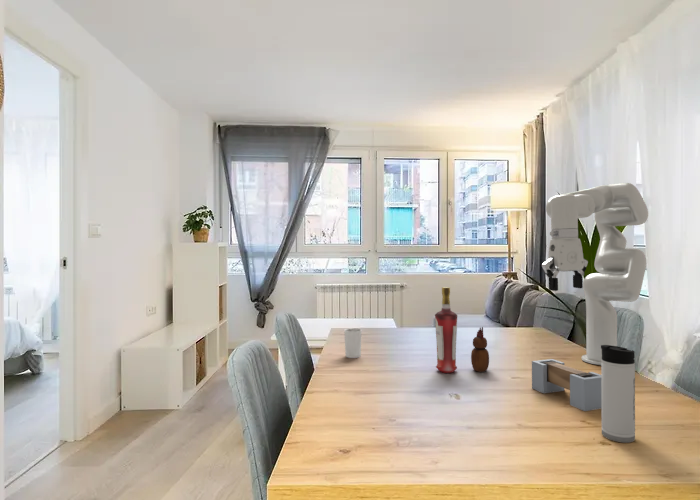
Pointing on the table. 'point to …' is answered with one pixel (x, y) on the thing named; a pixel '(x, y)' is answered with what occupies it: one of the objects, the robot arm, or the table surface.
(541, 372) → the post
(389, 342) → the table surface
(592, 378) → the post
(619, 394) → the travel mug
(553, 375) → the rail
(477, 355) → the wooden figurine
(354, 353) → the drinking glass
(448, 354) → the liquor
